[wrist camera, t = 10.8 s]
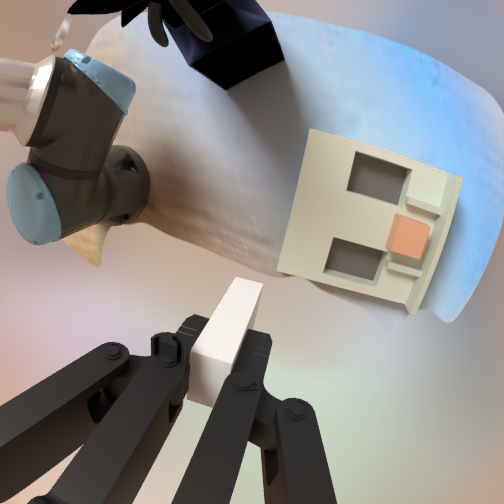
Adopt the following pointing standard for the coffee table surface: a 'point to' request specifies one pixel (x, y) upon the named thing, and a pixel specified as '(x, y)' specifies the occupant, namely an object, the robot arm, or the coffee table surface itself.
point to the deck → (365, 218)
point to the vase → (205, 33)
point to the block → (407, 236)
